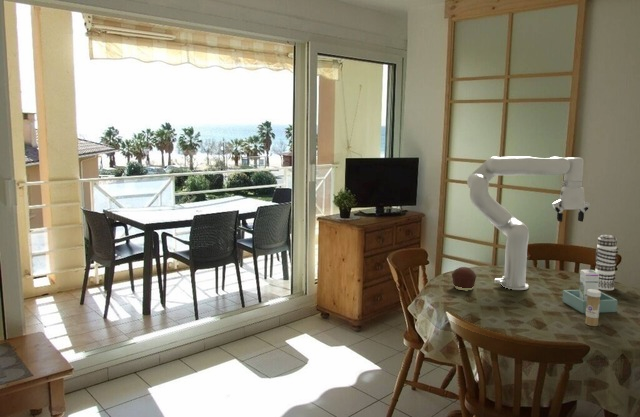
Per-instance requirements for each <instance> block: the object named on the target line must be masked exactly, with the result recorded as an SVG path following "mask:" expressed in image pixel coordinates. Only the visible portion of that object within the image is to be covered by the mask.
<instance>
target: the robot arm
mask: <svg viewBox="0 0 640 417" xmlns="http://www.w3.org/2000/svg"><path fill="white" fill-rule="evenodd" d="M584 163H585V161H584V159H583V158H582V157H579V156H578V157H574V156H571V157H570V156H569V157H559V156H551V157H545V158H544V157H533V156H501V157H500V156H491V157H489V158H487V160H485V161H484V162H482V164H481V165H480V166H479V167H477V168H476V169H475V170H474V171H473V172H472V173H471V174H470V175H469V176H468V177H467V182H466V184H467V187H468V188H469V199H470V201H471V203H472V205H473V206H474V207H475V208H476V209H477V210H478V211H479V212H481V214H482V215H483V216H485V218H486V220H487V221H488V222H489V223H491V224H492V225H493V226H494V228H496V229H498V230H499V231H500V232H501V233H502V234H503V235H504V236H506V243H505V251H504V252H505V256H504V274H503V275H502V276H501V277H500V278H494V279H493V282H494V283H497V284H498V283H499V285H500V284H501V285H502V286H503V287H505V288H504V289H506V288H508V289H507V290H510V289H512V290H511V291H524V290H525V291H526V290H528V289H529V286H530V285H529V284H528V283H526V282H527V280H526V279H527V278H526V277H527V276H526V275H527V260H528V259H527V258H528V256H527V255H528V244H529V238H530V229H529V228H528V226H527V225H526V224H525V223H524V222H523V221H520V220H519V219H518V218H516V217H515V216H514V215H513V214H512V213H510V211H509V210H508V209H507V208H506V207H505V206H503V205H502V204H500V203H499V202H498V201H497V200H495V198H493V197H492V196H491V195H490V192H489V187H490V181H491V180H492V179H494V178H495V177H496V176H549V175H550V176H557V175H560V176H561V175H563V181H561V182H560V185H562V187H561V190H560V192H559V194H560V195H559V199H558V200H556V201H554V202H553V203H552V204H551V205H552V208H553V209H554V211H556V214H557V216H556V220H557V222H560V223H562V222H563V215H564V214H563V211H565V210H578V211H579V212H578V213H577V221H578V222H584V219H585V214H586V211H588V210H589V208H590V206H591V203H590V202H588V201H586V199H585V198H586V196H585V188H584V187H582V186H583V175H584ZM501 285H500V286H501ZM502 286H501V287H502ZM503 287H502V288H503Z"/></svg>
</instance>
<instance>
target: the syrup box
mask: <svg viewBox="0 0 640 417" xmlns="http://www.w3.org/2000/svg"><path fill="white" fill-rule="evenodd" d="M598 287H599V273H597V272H596V269H595V270H594V269H580V274H579V289H578V290H579V298H580V299H582V300H584V301H587V290H588V289H596V290H599V289H598Z"/></svg>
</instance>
